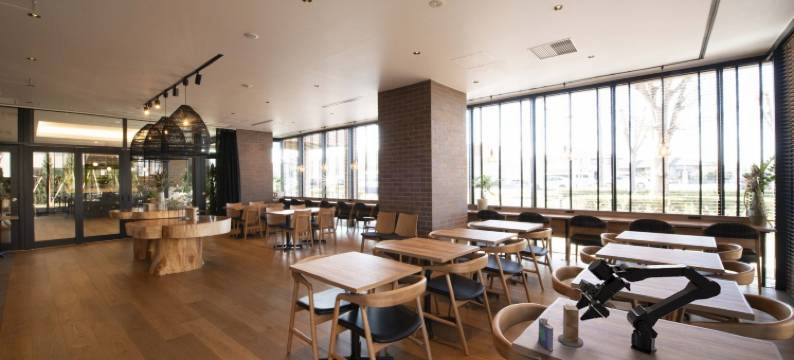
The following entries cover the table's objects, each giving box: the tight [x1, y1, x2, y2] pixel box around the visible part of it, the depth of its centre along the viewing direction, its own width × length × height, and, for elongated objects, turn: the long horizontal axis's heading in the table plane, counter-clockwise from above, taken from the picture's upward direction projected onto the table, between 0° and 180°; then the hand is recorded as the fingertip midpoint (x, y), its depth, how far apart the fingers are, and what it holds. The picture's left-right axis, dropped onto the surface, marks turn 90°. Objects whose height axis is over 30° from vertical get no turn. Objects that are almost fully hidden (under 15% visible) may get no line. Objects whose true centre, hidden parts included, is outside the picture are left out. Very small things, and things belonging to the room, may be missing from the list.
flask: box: [538, 317, 554, 352], centre depth 136 cm, size 9×3×11 cm, turn 2°
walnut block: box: [562, 304, 580, 343], centre depth 139 cm, size 4×4×13 cm
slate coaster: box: [557, 333, 584, 348], centre depth 139 cm, size 9×9×1 cm
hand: (577, 314), depth 138 cm, fingers open, 9 cm apart
